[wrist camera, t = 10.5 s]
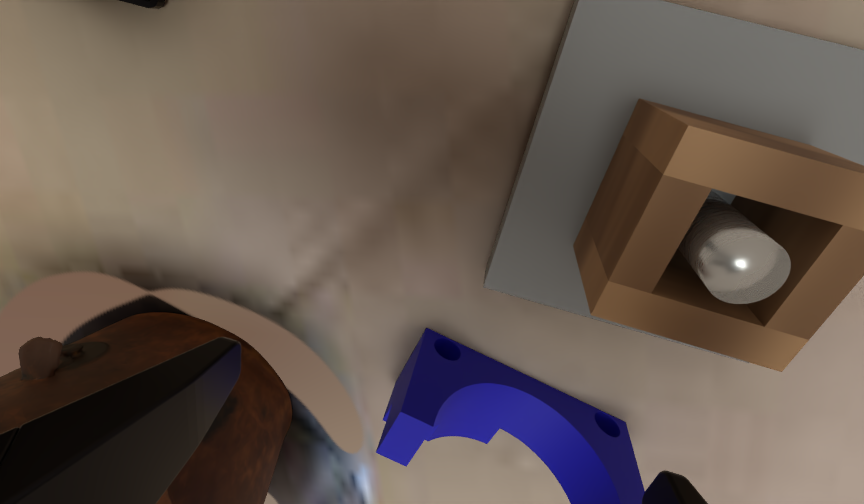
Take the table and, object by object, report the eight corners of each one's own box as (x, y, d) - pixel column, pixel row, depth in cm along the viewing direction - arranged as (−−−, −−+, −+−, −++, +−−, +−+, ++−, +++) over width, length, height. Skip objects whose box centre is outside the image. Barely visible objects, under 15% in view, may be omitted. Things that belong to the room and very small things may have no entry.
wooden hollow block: (573, 245, 18) (590, 315, 14) (638, 98, 15) (688, 125, 11) (716, 287, 18) (781, 372, 13) (811, 145, 15) (933, 193, 10)
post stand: (485, 271, 21) (471, 370, 15) (579, -14, 15) (620, -45, 9) (734, 341, 20) (827, 476, 14) (929, 71, 15) (1225, 101, 8)
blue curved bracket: (396, 379, 25) (364, 470, 20) (427, 325, 23) (400, 411, 18) (578, 464, 26) (594, 575, 21) (624, 419, 24) (655, 529, 19)
